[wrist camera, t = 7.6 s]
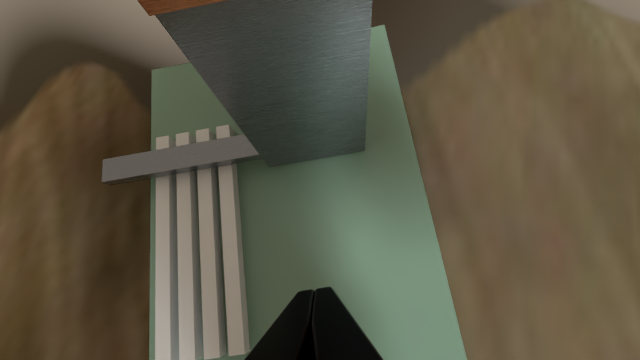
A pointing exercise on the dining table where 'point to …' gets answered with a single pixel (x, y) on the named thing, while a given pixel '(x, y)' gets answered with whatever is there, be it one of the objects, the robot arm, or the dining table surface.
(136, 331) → the dining table surface
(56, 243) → the dining table surface
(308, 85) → the orange-rimmed grey tower
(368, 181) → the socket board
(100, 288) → the dining table surface
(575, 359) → the dining table surface
